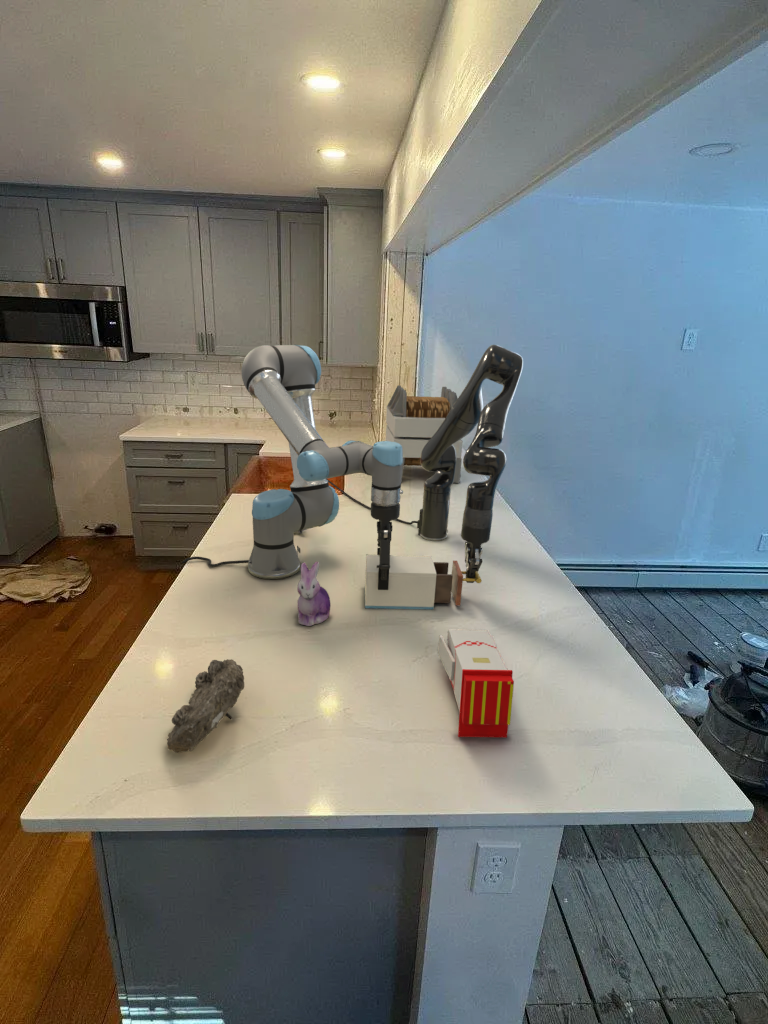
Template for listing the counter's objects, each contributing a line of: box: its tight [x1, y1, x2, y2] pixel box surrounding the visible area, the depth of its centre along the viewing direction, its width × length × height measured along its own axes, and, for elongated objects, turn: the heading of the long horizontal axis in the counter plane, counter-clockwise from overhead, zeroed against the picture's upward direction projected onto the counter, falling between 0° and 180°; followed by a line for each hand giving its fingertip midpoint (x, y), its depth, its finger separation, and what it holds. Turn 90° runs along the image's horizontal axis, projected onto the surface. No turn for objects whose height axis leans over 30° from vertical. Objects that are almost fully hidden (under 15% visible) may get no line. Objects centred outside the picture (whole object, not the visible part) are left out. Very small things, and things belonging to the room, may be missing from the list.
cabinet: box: [364, 554, 436, 610], centre depth 153 cm, size 18×11×11 cm, turn 92°
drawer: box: [433, 560, 482, 607], centre depth 154 cm, size 23×10×9 cm, turn 92°
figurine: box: [297, 561, 331, 627], centre depth 141 cm, size 9×10×15 cm
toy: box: [437, 628, 515, 738], centre depth 117 cm, size 12×13×30 cm
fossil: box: [166, 658, 245, 754], centre depth 106 cm, size 22×10×15 cm
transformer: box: [384, 384, 464, 484], centre depth 268 cm, size 34×33×41 cm
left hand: (382, 579), depth 153 cm, fingers closed on cabinet, 11 cm apart
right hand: (469, 581), depth 154 cm, fingers closed
